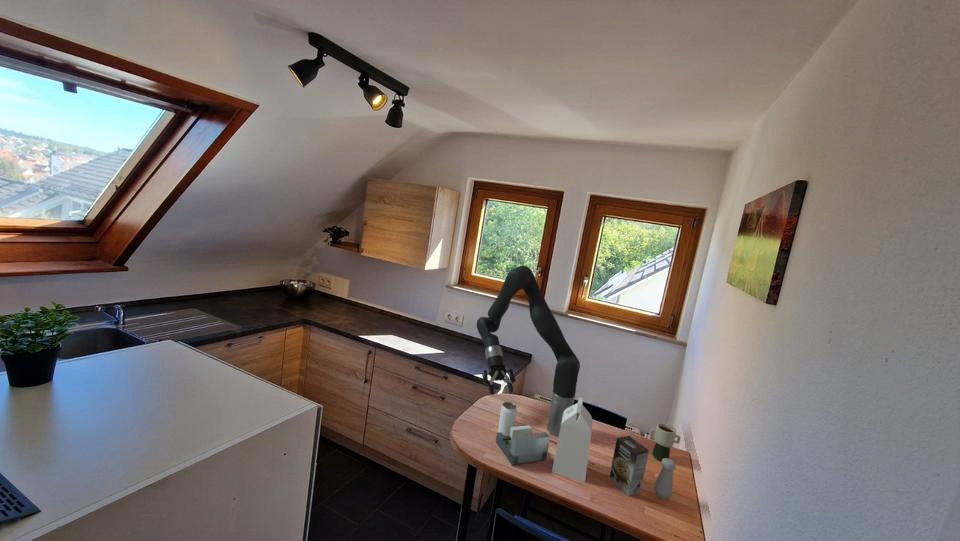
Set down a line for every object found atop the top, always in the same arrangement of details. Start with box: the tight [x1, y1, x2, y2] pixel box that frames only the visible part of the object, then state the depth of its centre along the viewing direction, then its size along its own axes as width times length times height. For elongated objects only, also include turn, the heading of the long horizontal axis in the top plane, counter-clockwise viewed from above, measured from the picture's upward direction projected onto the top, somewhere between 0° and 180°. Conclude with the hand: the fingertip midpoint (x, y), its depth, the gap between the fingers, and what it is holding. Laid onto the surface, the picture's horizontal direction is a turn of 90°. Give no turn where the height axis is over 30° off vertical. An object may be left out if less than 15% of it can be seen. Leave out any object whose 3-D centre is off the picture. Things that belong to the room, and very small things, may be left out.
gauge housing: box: [495, 431, 551, 467], centre depth 148 cm, size 14×15×10 cm
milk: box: [551, 397, 593, 483], centre depth 140 cm, size 12×12×26 cm
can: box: [497, 401, 518, 437], centre depth 159 cm, size 6×6×12 cm
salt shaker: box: [653, 458, 676, 500], centre depth 132 cm, size 6×6×13 cm
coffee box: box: [608, 435, 650, 497], centre depth 134 cm, size 9×6×16 cm
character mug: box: [649, 422, 681, 461], centre depth 154 cm, size 11×7×13 cm, turn 68°
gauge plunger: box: [502, 424, 533, 445], centre depth 148 cm, size 12×2×8 cm, turn 112°
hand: (502, 393), depth 165 cm, fingers open, 8 cm apart
